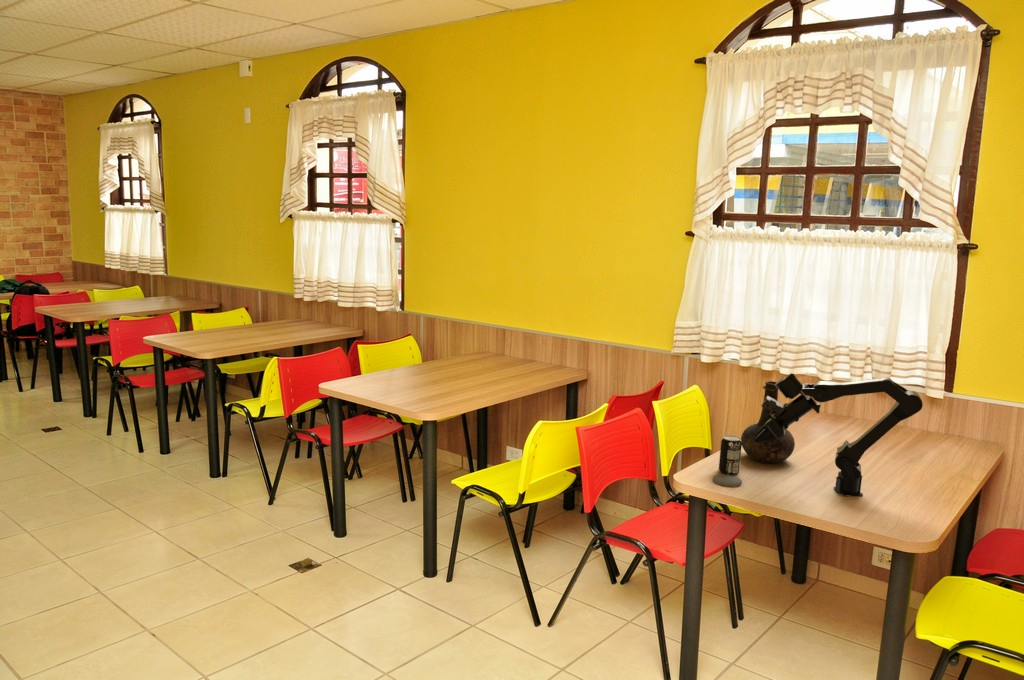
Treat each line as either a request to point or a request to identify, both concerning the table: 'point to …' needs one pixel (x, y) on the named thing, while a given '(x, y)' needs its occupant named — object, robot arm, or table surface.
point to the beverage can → (730, 455)
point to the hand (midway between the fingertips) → (756, 437)
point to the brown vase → (771, 448)
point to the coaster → (727, 480)
